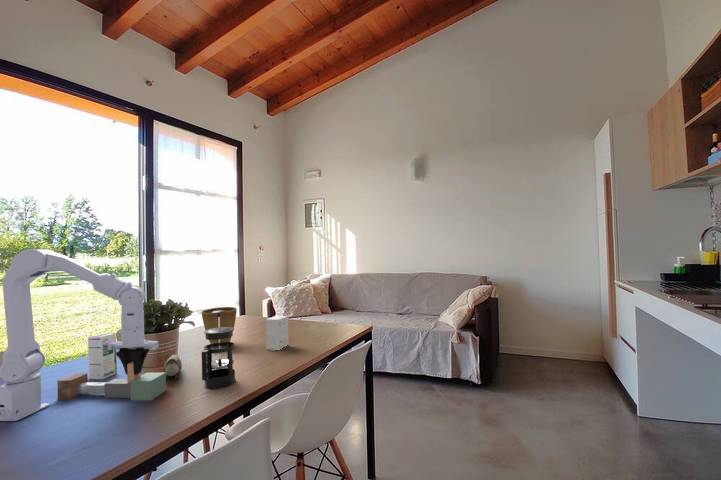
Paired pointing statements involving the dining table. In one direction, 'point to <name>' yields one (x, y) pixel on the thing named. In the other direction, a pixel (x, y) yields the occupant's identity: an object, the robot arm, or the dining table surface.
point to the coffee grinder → (221, 374)
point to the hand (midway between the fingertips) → (133, 373)
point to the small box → (277, 332)
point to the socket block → (148, 386)
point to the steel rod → (90, 388)
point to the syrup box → (101, 356)
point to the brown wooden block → (70, 386)
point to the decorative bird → (172, 366)
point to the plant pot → (225, 320)
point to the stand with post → (121, 385)
